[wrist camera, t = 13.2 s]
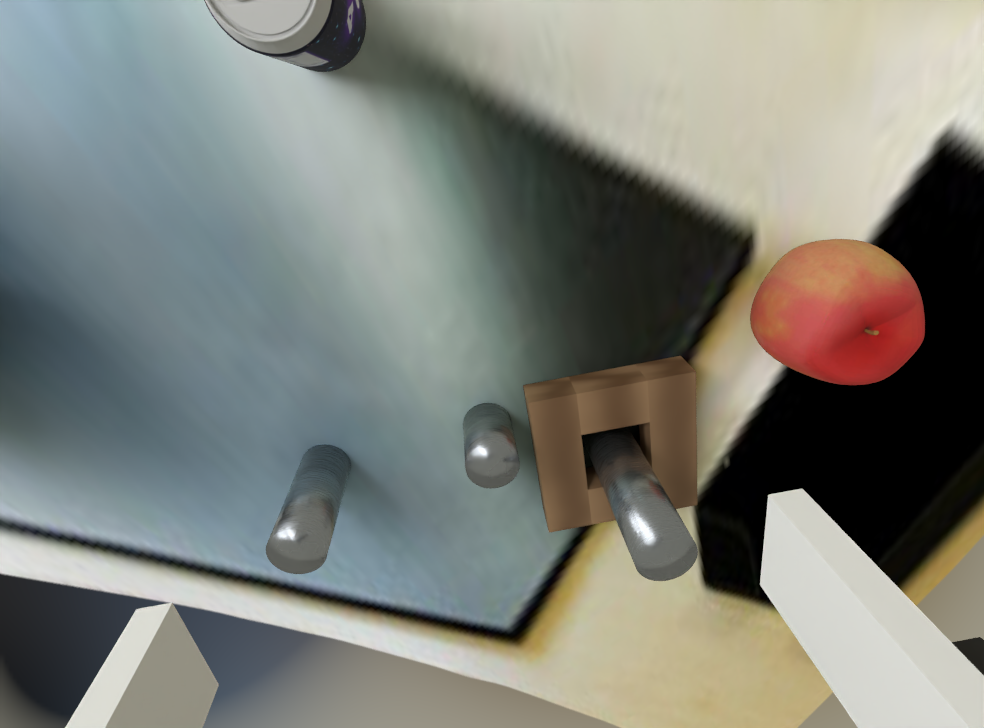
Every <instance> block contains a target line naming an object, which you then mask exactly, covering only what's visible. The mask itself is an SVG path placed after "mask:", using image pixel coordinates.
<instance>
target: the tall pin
mask: <svg viewBox="0 0 984 728" xmlns="http://www.w3.org/2000/svg"><path fill="white" fill-rule="evenodd" d="M584 444H585V447H586V449H587V451H588V454H589V456H590V459H591V461H592V463H593V466H594V468H595V471H596V473H597V475H598V478H599V480H600V483H601V485H602V487H603V490H604V492H605V495H606V497H607V499H608V502H609V504H610V506H611V509H612V511H613V514H614V516H615V518H616V521H617V523H618V526H619V528H620V530H621V533H622V535H623V538H624V540H625V542H626V545H627V547H628V550H629V552H630V554H631V557H632V559H633V562H634V564H635V566H636V569H637V571H638V572H639V573H640V574H641V575H642V576H643V577H645V578H647V579H650V580H654V581H666V580H671V579H674V578H677V577H679V576H681V575H682V574H684V573H685V572H687V571H688V570H689V569H690V568H691V567H692V565H693V564H694V562H695V561H696V558H697V553H698V550H697V546H696V544H695V542H694V540H693V538H692V537H691V535H690V533H689V531H688V530H687V528H686V526H685V525H684V523H683V521H682V519H681V518H680V516H679V514H678V513H677V511H676V509H675V507H674V506H673V504H672V502H671V500H670V499H669V497H668V495H667V494H666V492H665V490H664V488H663V487H662V485H661V483H660V481H659V480H658V478H657V476H656V475H655V473H654V471H653V469H652V468H651V466H650V464H649V462H648V461H647V459H646V457H645V456H644V454H643V452H642V450H641V449H640V447H639V445H638V443H637V442H636V440H635V438H634V437H633V435H632V433H631V431H630V430H629V428H628V426H627V427H622V428H617V429H611V430H606V431H601V432H595V433H590V434H585V436H584Z"/></svg>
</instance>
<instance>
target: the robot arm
mask: <svg viewBox="0 0 984 728" xmlns="http://www.w3.org/2000/svg"><path fill="white" fill-rule="evenodd" d="M760 585H761V587H762V588H763V590H764V591H765V593H766V594H767V596H768V597H769V599H770V600H771V602H772V603H773V604H774V606H775V607H776V609H777V610H778V612H779V613H780V615H781V616H782V618H783V619H784V621H785V622H786V623H787V625H788V626H789V628H790V629H791V631H792V632H793V634H794V635H795V637H796V638H797V640H798V641H799V642H800V644H801V645H802V647H803V648H804V650H805V651H806V653H807V654H808V656H809V657H810V659H811V660H812V662H813V663H814V664H815V666H816V667H817V669H818V670H819V672H820V673H821V675H822V676H823V678H824V679H825V681H826V682H827V683H828V685H829V686H830V688H831V689H832V691H833V692H834V693H835V695H836V696H837V698H838V700H839V701H840V702H841V704H842V705H843V707H844V708H845V710H846V711H847V713H848V714H849V716H850V717H851V718H852V720H853V721H854V722H855V724H856V726H857V727H858V728H984V640H983V639H982V638H980V637H979V638H973V639H968V640H963V641H957V642H950V641H949V639H948V638H947V637H946V636H945V635H944V634H943V633H942V632H941V631H940V630H939V629H938V628H937V627H936V626H935V625H934V624H933V623H932V622H931V621H930V620H929V619H928V618H927V617H926V616H925V615H924V614H923V613H922V612H921V611H920V610H919V608H918V607H917V606H916V605H915V604H914V603H913V602H912V601H911V600H910V599H909V598H908V597H907V596H906V595H905V594H904V593H903V592H902V591H901V590H900V589H899V588H898V587H897V586H896V585H895V584H894V583H893V582H892V581H891V580H890V579H889V578H888V577H887V575H886V574H885V573H884V572H883V571H882V570H881V569H880V568H879V567H878V566H877V565H876V564H875V563H874V562H873V561H872V560H871V559H870V558H869V557H868V556H867V555H866V554H865V553H864V552H863V551H862V550H861V549H860V548H859V547H858V546H857V545H856V544H855V543H854V541H853V540H852V539H851V538H850V537H849V536H848V535H847V534H846V533H845V532H844V531H843V530H842V529H841V528H840V527H839V526H838V525H837V524H836V523H835V522H834V521H833V520H832V519H831V518H830V517H829V516H828V515H827V514H826V513H825V512H824V511H823V510H822V509H821V507H820V506H819V505H818V504H817V503H816V502H815V501H814V500H813V499H812V498H811V497H810V496H809V495H808V494H807V493H806V492H805V491H804V490H803V489H797V490H792V491H786V492H781V493H775V494H770V495H768V504H767V514H766V525H765V536H764V547H763V557H762V568H761V579H760ZM218 685H219V684H218V682H217V681H216V679H215V677H214V675H213V674H212V672H211V670H210V669H209V667H208V665H207V663H206V661H205V660H204V658H203V656H202V654H201V653H200V651H199V649H198V647H197V646H196V644H195V642H194V640H193V638H192V637H191V635H190V633H189V632H188V630H187V628H186V626H185V624H184V623H183V621H182V619H181V617H180V615H179V614H178V612H177V610H176V608H175V607H174V605H173V603H168V604H162V605H157V606H152V607H146V608H141V609H136V611H135V613H134V614H133V616H132V618H131V619H130V621H129V623H128V624H127V626H126V628H125V629H124V631H123V633H122V634H121V636H120V638H119V639H118V641H117V643H116V644H115V646H114V648H113V649H112V651H111V653H110V654H109V656H108V658H107V659H106V661H105V663H104V664H103V666H102V668H101V669H100V671H99V673H98V674H97V676H96V678H95V679H94V681H93V683H92V684H91V686H90V687H89V689H88V691H87V692H86V694H85V696H84V697H83V699H82V701H81V702H80V704H79V706H78V708H77V709H76V711H75V712H74V714H73V716H72V717H71V719H70V721H69V722H68V724H67V726H66V727H65V728H202V727H203V725H204V722H205V720H206V717H207V714H208V712H209V709H210V706H211V704H212V701H213V698H214V696H215V693H216V691H217V688H218Z"/></svg>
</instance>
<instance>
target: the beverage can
mask: <svg viewBox="0 0 984 728" xmlns="http://www.w3.org/2000/svg"><path fill="white" fill-rule="evenodd" d="M204 1H205V3H206V5H207V7H208V9H209V11H210V12H211V14H212V16H213V17H214V19H215V20H216V21H217V23H218V24H219V25H220V27H221V28H222V29H223V30H224V31H225V32H226V33H227V34H228V35H229V36H230V37H231V38H233V39H234V40H235V41H236V42H238V43H239V44H241V45H242V46H244V47H246V48H248V49H250V50H252V51H254V52H257V53H260V54H263V55H266V56H269V57H272V58H275V59H278V60H281V61H285V62H288V63H291V64H294V65H297V66H300V67H303V68H306V69H309V70H313V71H319V72H327V71H333V70H336V69H339V68H341V67H343V66H345V65H346V64H348V63H349V62H350V61H351V60H352V59H353V58H354V57H355V56H356V54H357V53H358V51H359V49H360V47H361V45H362V43H363V39H364V35H365V29H366V17H365V10H364V6H363V2H362V0H204Z"/></svg>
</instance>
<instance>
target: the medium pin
mask: <svg viewBox="0 0 984 728" xmlns="http://www.w3.org/2000/svg"><path fill="white" fill-rule="evenodd" d="M349 471H350V461H349V458H348V456H347V455H346V454H345V453H344V452H343V451H342V450H340V449H339V448H337V447H334V446H331V445H318V446H315V447H312V448H310V449H309V450H308V451H307V452H306V453H305V454H304V456H303V458H302V461H301V463H300V465H299V468H298V470H297V473H296V475H295V478H294V480H293V482H292V485H291V487H290V490H289V492H288V494H287V497H286V499H285V502H284V504H283V507H282V509H281V511H280V514H279V516H278V519H277V521H276V524H275V526H274V528H273V531H272V533H271V536H270V538H269V540H268V543H267V546H266V554H267V557H268V559H269V560H270V562H271V563H272V564H273V565H274V566H275V567H277V568H278V569H280V570H282V571H285V572H288V573H293V574H304V573H309V572H312V571H314V570H316V569H318V568H319V567H320V566H322V564H323V563H324V562H325V560H326V557H327V553H328V549H329V546H330V542H331V538H332V534H333V531H334V527H335V523H336V520H337V516H338V512H339V508H340V505H341V501H342V497H343V493H344V490H345V486H346V482H347V479H348V475H349Z"/></svg>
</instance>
